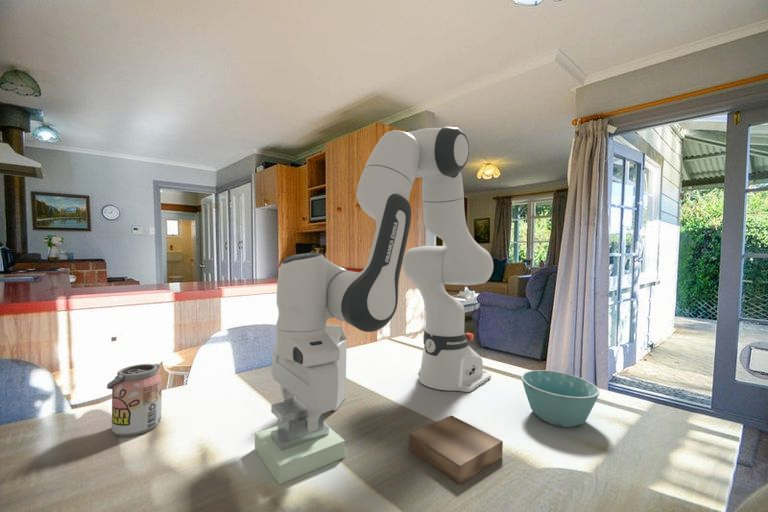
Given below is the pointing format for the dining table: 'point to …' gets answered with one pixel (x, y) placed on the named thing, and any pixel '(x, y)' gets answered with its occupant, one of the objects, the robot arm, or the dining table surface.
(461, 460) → the stand
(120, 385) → the beverage can
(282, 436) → the block
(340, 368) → the milk carton
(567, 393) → the bowl
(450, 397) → the dining table surface
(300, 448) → the stand
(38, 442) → the dining table surface
